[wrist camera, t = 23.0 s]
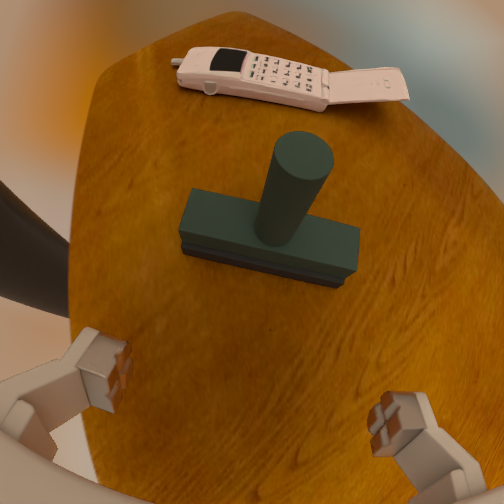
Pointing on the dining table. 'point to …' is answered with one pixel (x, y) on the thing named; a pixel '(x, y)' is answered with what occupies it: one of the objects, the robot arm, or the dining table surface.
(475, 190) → the dining table surface
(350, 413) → the dining table surface
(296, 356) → the dining table surface
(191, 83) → the mobile phone
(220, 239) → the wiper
